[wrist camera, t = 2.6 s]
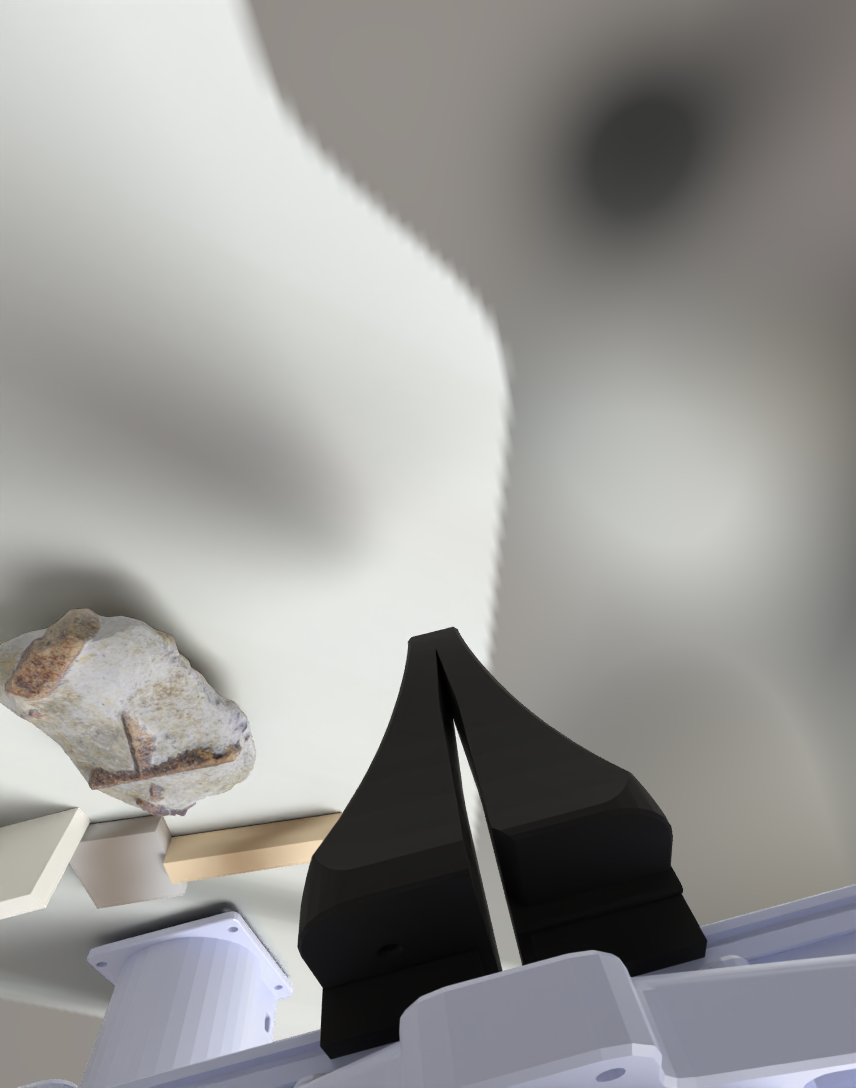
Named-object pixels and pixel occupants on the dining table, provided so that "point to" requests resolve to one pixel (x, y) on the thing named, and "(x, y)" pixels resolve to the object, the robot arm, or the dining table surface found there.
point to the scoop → (184, 855)
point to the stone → (127, 710)
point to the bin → (36, 859)
